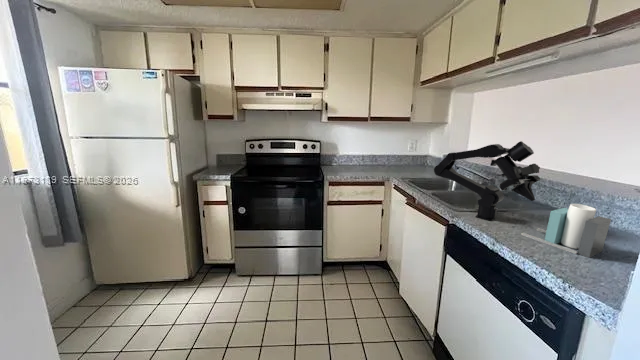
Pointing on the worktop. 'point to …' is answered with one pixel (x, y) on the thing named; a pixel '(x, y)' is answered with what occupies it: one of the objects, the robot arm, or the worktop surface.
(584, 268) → the worktop surface
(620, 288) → the worktop surface
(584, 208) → the drinking glass
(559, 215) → the block
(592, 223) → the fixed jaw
